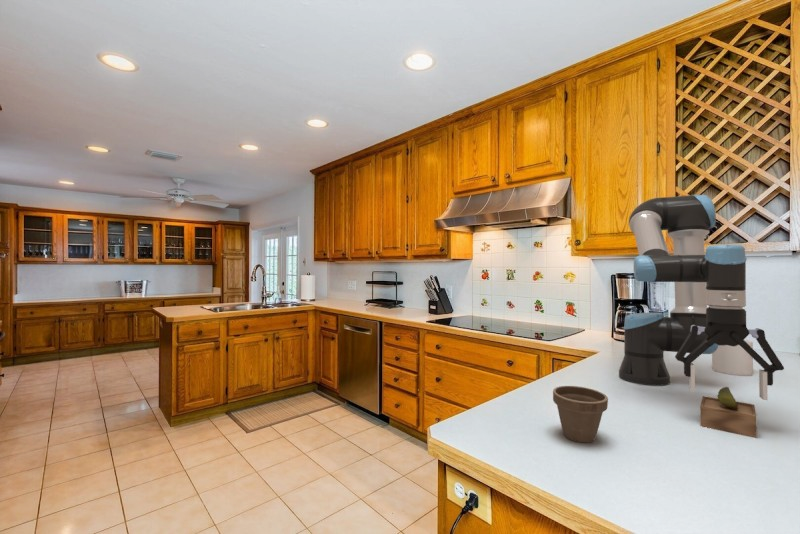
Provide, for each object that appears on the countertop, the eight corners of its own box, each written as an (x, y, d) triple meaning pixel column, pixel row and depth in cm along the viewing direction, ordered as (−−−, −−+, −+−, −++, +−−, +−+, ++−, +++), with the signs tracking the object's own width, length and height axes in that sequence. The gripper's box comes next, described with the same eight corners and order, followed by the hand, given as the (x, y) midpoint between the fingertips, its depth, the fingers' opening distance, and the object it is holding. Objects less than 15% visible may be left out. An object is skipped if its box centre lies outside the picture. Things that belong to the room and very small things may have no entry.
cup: (746, 377, 137) (746, 344, 137) (707, 370, 147) (706, 339, 147) (757, 373, 143) (757, 341, 143) (719, 366, 153) (718, 336, 153)
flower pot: (616, 451, 80) (616, 403, 80) (559, 446, 82) (559, 399, 82) (598, 428, 92) (597, 386, 92) (548, 425, 94) (548, 384, 94)
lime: (728, 404, 96) (728, 384, 96) (747, 411, 91) (746, 390, 91) (711, 404, 96) (711, 384, 96) (729, 411, 91) (729, 390, 91)
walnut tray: (700, 428, 93) (700, 405, 93) (703, 416, 101) (702, 396, 101) (756, 440, 87) (756, 416, 87) (754, 426, 94) (754, 404, 94)
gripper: (666, 306, 97) (666, 390, 97) (802, 311, 85) (803, 407, 84) (662, 304, 104) (663, 382, 103) (788, 308, 91) (789, 397, 91)
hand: (726, 394), depth 94 cm, fingers open, 13 cm apart
